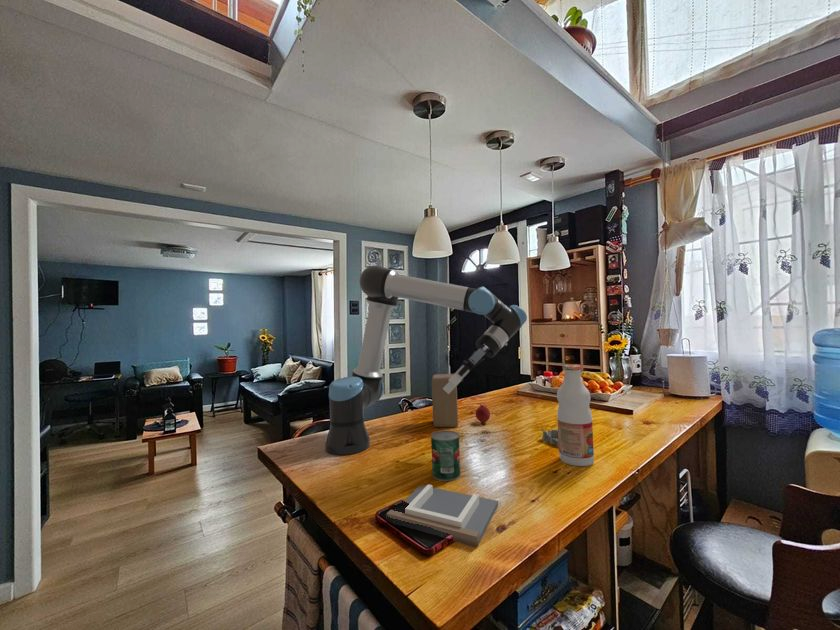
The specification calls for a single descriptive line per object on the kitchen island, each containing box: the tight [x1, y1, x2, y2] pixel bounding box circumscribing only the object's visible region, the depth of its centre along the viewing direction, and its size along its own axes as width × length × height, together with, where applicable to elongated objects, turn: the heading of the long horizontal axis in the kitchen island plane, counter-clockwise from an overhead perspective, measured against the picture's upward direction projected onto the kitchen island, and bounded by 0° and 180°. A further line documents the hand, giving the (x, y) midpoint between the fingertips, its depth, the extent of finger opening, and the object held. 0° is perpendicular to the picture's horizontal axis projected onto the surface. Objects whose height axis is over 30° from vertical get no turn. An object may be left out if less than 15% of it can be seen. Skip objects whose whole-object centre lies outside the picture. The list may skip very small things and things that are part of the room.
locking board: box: [386, 484, 499, 548], centre depth 76 cm, size 20×16×3 cm
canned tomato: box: [430, 430, 461, 482], centre depth 95 cm, size 8×8×11 cm
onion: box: [475, 403, 491, 424], centre depth 141 cm, size 6×6×8 cm
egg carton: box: [540, 428, 559, 448], centre depth 116 cm, size 11×8×4 cm
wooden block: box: [431, 373, 459, 428], centre depth 142 cm, size 10×10×20 cm
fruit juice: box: [556, 364, 595, 467], centre depth 101 cm, size 9×9×28 cm
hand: (448, 387), depth 107 cm, fingers open, 13 cm apart
